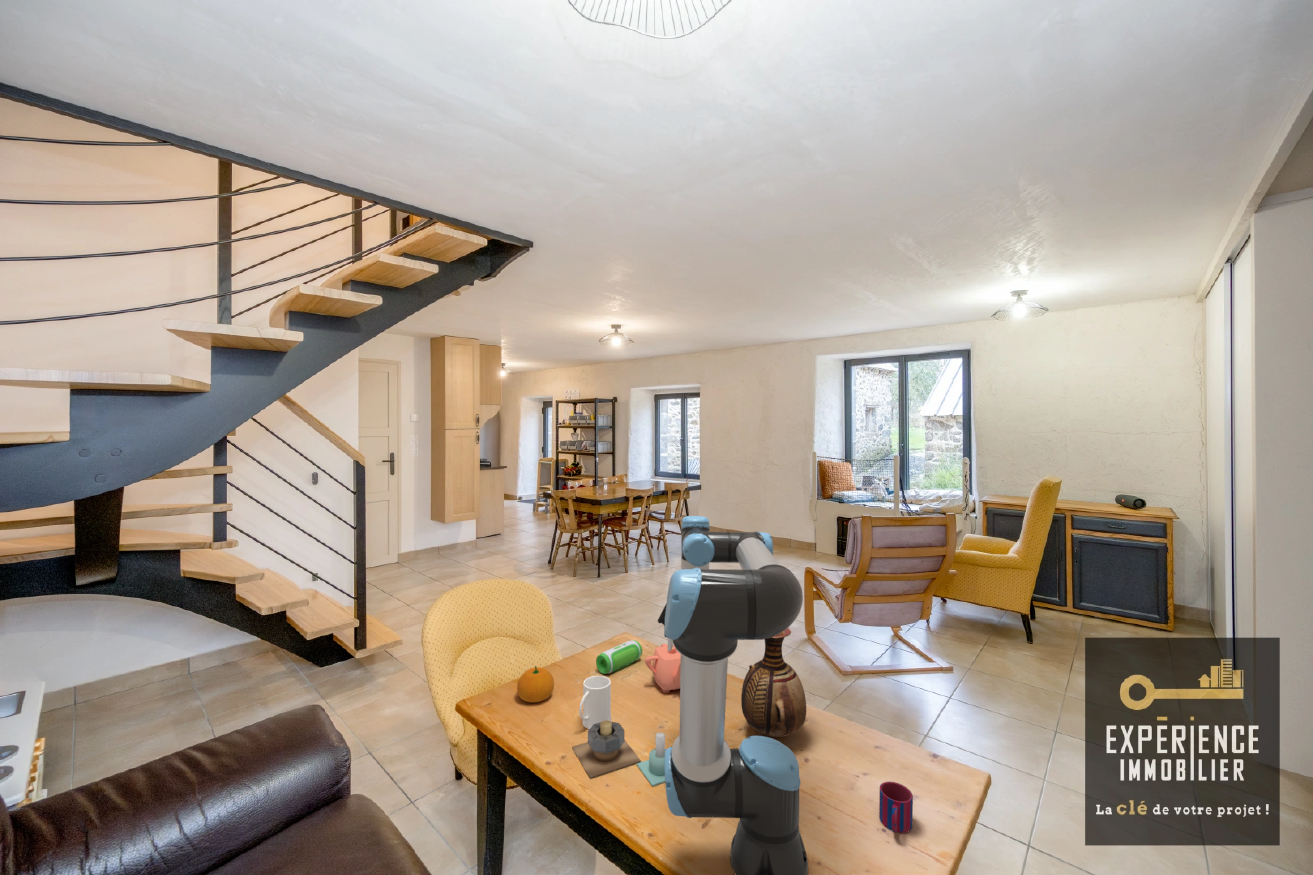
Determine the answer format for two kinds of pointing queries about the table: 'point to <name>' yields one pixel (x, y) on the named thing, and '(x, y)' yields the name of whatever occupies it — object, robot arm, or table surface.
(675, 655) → the teapot
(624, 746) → the hub
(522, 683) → the fruit
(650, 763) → the stand
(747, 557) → the robot arm
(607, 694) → the mug
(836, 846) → the table surface
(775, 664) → the vase
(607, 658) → the speaker
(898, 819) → the cup
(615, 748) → the clutch ring
